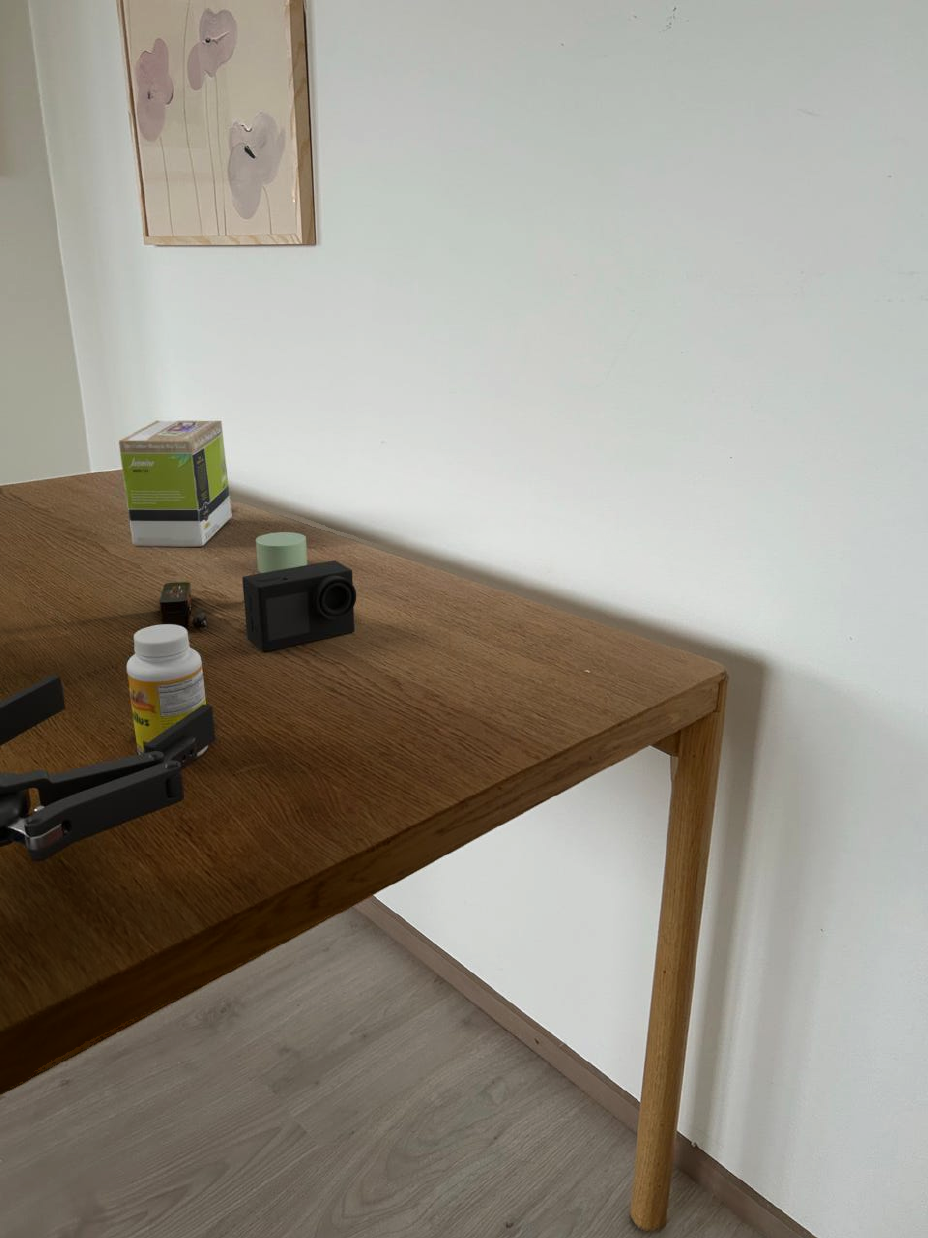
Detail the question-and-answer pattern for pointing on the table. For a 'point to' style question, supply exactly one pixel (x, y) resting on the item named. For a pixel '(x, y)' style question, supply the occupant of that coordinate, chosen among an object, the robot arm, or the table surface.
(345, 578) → the digital camera
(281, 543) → the pale green cylinder
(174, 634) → the supplement bottle
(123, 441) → the tea box
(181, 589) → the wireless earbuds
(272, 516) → the table surface
